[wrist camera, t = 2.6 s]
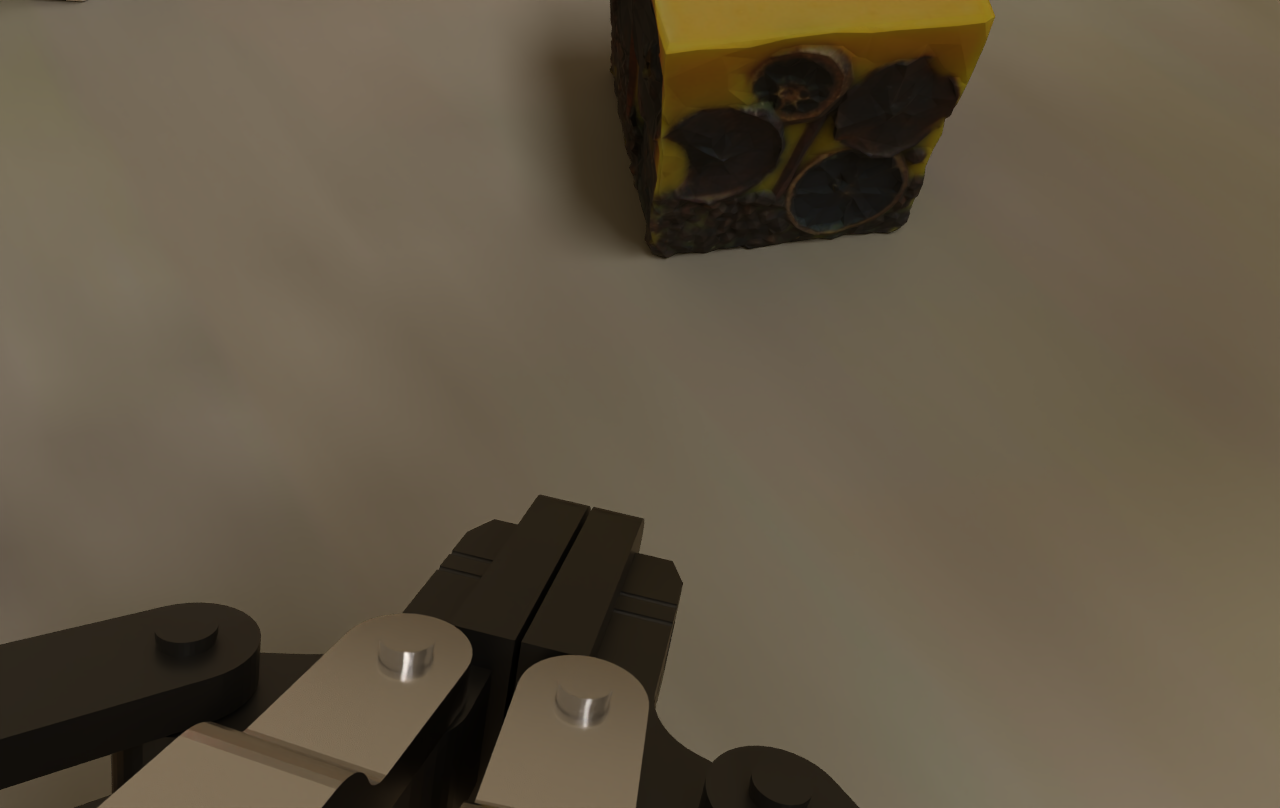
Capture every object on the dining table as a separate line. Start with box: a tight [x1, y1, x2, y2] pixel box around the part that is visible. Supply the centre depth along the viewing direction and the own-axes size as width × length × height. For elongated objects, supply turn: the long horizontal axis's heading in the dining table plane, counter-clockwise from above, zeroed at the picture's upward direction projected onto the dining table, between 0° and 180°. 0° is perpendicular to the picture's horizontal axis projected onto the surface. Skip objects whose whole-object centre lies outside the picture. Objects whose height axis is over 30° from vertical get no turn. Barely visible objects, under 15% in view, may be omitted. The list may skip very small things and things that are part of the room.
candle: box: [610, 0, 995, 258], centre depth 32 cm, size 10×10×10 cm
